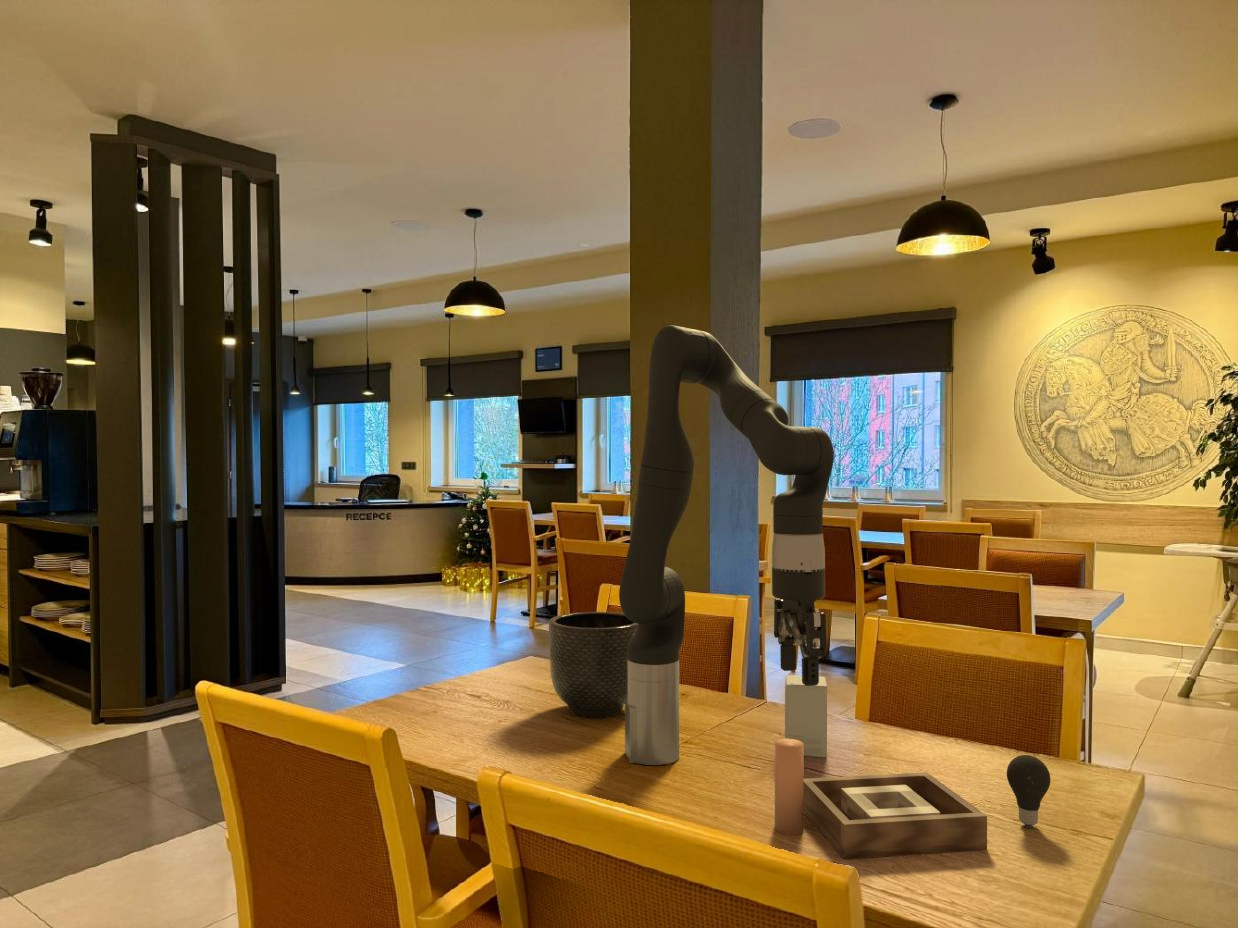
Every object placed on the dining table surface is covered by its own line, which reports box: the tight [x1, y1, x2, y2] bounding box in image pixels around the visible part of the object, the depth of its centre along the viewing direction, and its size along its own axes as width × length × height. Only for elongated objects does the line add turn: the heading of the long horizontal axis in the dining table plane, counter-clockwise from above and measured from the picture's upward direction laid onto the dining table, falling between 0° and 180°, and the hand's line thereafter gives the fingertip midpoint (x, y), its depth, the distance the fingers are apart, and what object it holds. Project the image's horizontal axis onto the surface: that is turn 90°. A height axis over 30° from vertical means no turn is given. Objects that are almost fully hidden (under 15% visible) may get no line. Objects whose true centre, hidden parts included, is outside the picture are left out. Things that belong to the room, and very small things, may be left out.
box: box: [803, 772, 988, 860], centre depth 118 cm, size 20×16×4 cm
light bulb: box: [1006, 754, 1051, 828], centre depth 119 cm, size 6×6×10 cm
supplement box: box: [784, 674, 828, 758], centre depth 151 cm, size 7×7×13 cm
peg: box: [774, 738, 805, 835], centre depth 118 cm, size 4×4×12 cm
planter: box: [548, 611, 639, 719], centre depth 175 cm, size 20×20×19 cm
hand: (799, 677), depth 120 cm, fingers open, 8 cm apart
